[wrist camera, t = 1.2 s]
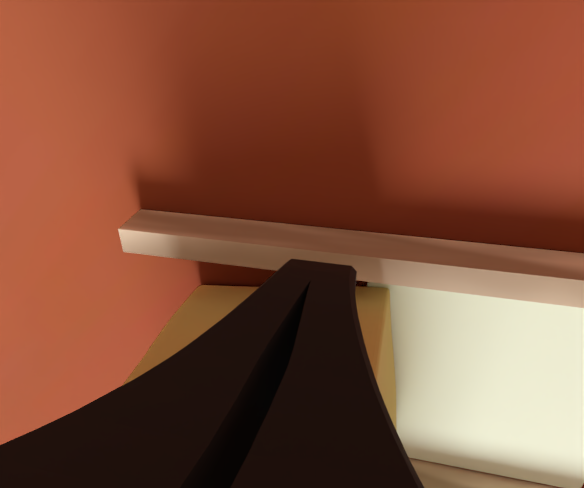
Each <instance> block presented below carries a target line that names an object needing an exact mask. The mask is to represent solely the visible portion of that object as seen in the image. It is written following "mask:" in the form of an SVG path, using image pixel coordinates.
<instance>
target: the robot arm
mask: <svg viewBox="0 0 584 488" xmlns="http://www.w3.org/2000/svg"><path fill="white" fill-rule="evenodd" d="M356 276H357V271H356V270H355V269H354V268H353V267H352V266H350V265H341V264H333V263H324V262H316V261H307V260H299V259H290V260H289V261H288V262H286V263H285V264H284V265H283V266H282V267H281V268H279V269H278V270H277V271H276V272H275V273H274V274H273V275H272V276H271V277H270V278H269V279H268V280H266V281H265V282H264V283H263V284H262V285H261V286H260V287H259V288H258V289H256V290H255V291H254V292H253V293H252V294H251V295H250V296H249V297H247V298H246V299H245V300H244V301H243V302H241V303H240V304H239V305H238V306H237V307H236V308H234V309H233V310H232V311H231V312H230V313H228V314H227V315H226V316H225V317H224V318H222V319H221V320H220V321H219V322H217V323H216V324H215V325H213V326H212V327H211V328H209V329H208V330H207V331H205V332H204V333H203V334H201V335H200V336H199V337H197V338H196V339H195V340H194V341H192V342H191V343H189V344H188V345H187V346H185V347H184V348H182V349H181V350H179V351H178V352H177V353H175V354H174V355H172V356H171V357H169V358H168V359H166V360H165V361H163V362H161V363H160V364H158V365H157V366H155V367H153V368H152V369H150V370H149V371H147V372H145V373H144V374H142V375H140V376H139V377H137V378H135V379H134V380H132V381H130V382H128V383H126V384H124V385H123V386H121V387H119V388H117V389H115V390H113V391H111V392H110V393H108V394H106V395H104V396H102V397H100V398H98V399H97V400H95V401H93V402H91V403H89V404H87V405H85V406H84V407H82V408H80V409H78V410H76V411H74V412H72V413H70V414H68V415H66V416H64V417H61V418H59V419H57V420H55V421H53V422H51V423H49V424H47V425H45V426H42V427H40V428H38V429H36V430H34V431H31V432H29V433H27V434H25V435H22V436H20V437H18V438H16V439H13V440H11V441H9V442H7V443H4V444H2V445H0V488H424V486H423V484H422V482H421V480H420V479H419V477H418V475H417V473H416V471H415V469H414V467H413V465H412V463H411V461H410V459H409V457H408V455H407V453H406V451H405V449H404V447H403V444H402V442H401V440H400V438H399V436H398V433H397V431H396V429H395V427H394V425H393V422H392V420H391V417H390V415H389V413H388V410H387V408H386V405H385V403H384V400H383V398H382V395H381V392H380V390H379V387H378V384H377V381H376V379H375V376H374V372H373V369H372V366H371V363H370V360H369V357H368V353H367V350H366V346H365V343H364V339H363V334H362V330H361V326H360V322H359V317H358V311H357V305H356V297H355V291H356Z"/></svg>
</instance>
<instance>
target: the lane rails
mask: <svg viewBox="0 0 584 488" xmlns="http://www.w3.org/2000/svg"><path fill="white" fill-rule="evenodd" d="M118 231H119V235H120V239H121V244H122V248H123V252H128V253H136V254H145V255H153V256H161V257H169V258H177V259H186V260H194V261H202V262H210V263H218V264H227V265H235V266H243V267H251V268H259V269H268V270H276V271H277V270H278V269H279V268H281V267H282V266H283V265H284V264H285V263H286V262H288V261H289V260H290V259H299V260H307V261H316V262H324V263H333V264H341V265H350V266H352V267H353V268H354V269H355V270H356V271H357V276H356V280H358V281H366V282H374V283H382V284H391V285H399V286H407V287H415V288H423V289H432V290H440V291H448V292H456V293H464V294H472V295H481V296H489V297H497V298H505V299H513V300H522V301H530V302H538V303H546V304H554V305H563V306H571V307H579V308H584V253H575V252H565V251H555V250H545V249H535V248H525V247H515V246H505V245H495V244H485V243H475V242H465V241H455V240H445V239H435V238H425V237H415V236H405V235H395V234H385V233H375V232H365V231H355V230H345V229H335V228H325V227H315V226H305V225H295V224H285V223H275V222H265V221H255V220H245V219H235V218H225V217H215V216H205V215H195V214H184V213H174V212H164V211H154V210H144V209H140V210H139V211H138V212H137V213H136V214H134V215H133V216H132V217H131V218H130V219H129V220H128V221H127V222H125V223H124V224H123V225H122V226H121V227H120V228H119V229H118ZM409 459H410V458H409ZM410 461H411V463H412V465H413V467H414V469H415V471H416V473H417V475H418V477H419V479H420V480H421V482H422V484H423V486H424V488H558V487H553V486H548V485H543V484H537V483H532V482H527V481H522V480H517V479H512V478H507V477H502V476H497V475H492V474H487V473H482V472H476V471H471V470H466V469H461V468H456V467H451V466H446V465H441V464H436V463H431V462H426V461H421V460H415V459H410Z"/></svg>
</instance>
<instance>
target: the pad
mask: <svg viewBox="0 0 584 488" xmlns="http://www.w3.org/2000/svg"><path fill="white" fill-rule="evenodd" d="M367 287H381V288H388V289H389V291H390V311H391V330H392V342H393V354H394V367H395V382H396V425H397V433H398V436H399V438H400V440H401V442H402V444H403V447H404V449H405V451H406V453H407V455H408V457H409V458H414V459H419V460H424V461H429V462H434V463H439V464H444V465H450V466H455V467H460V468H465V469H470V470H475V471H480V472H485V473H490V474H495V475H500V476H506V477H511V478H516V479H521V480H526V481H531V482H536V483H541V484H546V485H551V486H556V487H562V488H581V487H582V485H583V483H584V308H579V307H571V306H563V305H554V304H546V303H538V302H530V301H522V300H513V299H505V298H497V297H489V296H481V295H472V294H464V293H456V292H448V291H440V290H432V289H423V288H415V287H407V286H399V285H391V284H382V283H374V282H368V283H367Z"/></svg>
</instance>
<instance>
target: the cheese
mask: <svg viewBox="0 0 584 488" xmlns="http://www.w3.org/2000/svg"><path fill="white" fill-rule="evenodd" d="M258 288H259V287H247V286H217V285H200V286H198V287H197V288H196V289H195V291H194V292H193V293H192V294H191V295H190V296H189V297H188V298H187V299H186V301H185V302H184V303H183V304H182V305H181V307H180V308H179V309H178V310H177V312H176V313H175V314H174V315H173V316H172V317H171V319H170V320H169V321H168V323H167V324H166V325H165V327H164V328H163V329H162V331H161V332H160V334H159V335H158V337H157V338H156V340H155V341H154V342H153V344H152V345H151V347H150V348H149V350H148V351H147V353H146V354H145V356H144V357H143V359H142V360H141V361H140V363H139V364H138V365H137V367H136V368H135V369H134V371H133V372H132V373H131V374H130V376H129V377H128V378H127V380H126V381H125V382H124V384H126V383H128V382H130V381H132V380H134V379H135V378H137V377H139V376H140V375H142V374H144V373H145V372H147V371H149V370H150V369H152V368H153V367H155V366H157V365H158V364H160V363H161V362H163V361H165V360H166V359H168V358H169V357H171V356H172V355H174V354H175V353H177V352H178V351H179V350H181V349H182V348H184V347H185V346H187V345H188V344H189V343H191V342H192V341H194V340H195V339H196V338H197V337H199V336H200V335H201V334H203V333H204V332H205V331H207V330H208V329H209V328H211V327H212V326H213V325H215V324H216V323H217V322H219V321H220V320H221V319H222V318H224V317H225V316H226V315H227V314H228V313H230V312H231V311H232V310H233V309H234V308H236V307H237V306H238V305H239V304H240V303H241V302H243V301H244V300H245V299H246V298H247V297H249V296H250V295H251V294H252V293H253V292H254V291H255V290H256V289H258ZM355 297H356V305H357V311H358V317H359V322H360V326H361V330H362V334H363V339H364V343H365V346H366V350H367V353H368V357H369V360H370V363H371V366H372V369H373V372H374V376H375V379H376V381H377V384H378V387H379V390H380V392H381V395H382V398H383V400H384V403H385V405H386V408H387V410H388V413H389V415H390V417H391V420H392V422H393V425H394V427H395V429H396V431H397V425H396V382H395V367H394V354H393V342H392V330H391V311H390V291H389V289H388V288H381V287H360V286H356V291H355ZM124 384H123V385H124ZM123 385H122V386H123Z"/></svg>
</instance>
